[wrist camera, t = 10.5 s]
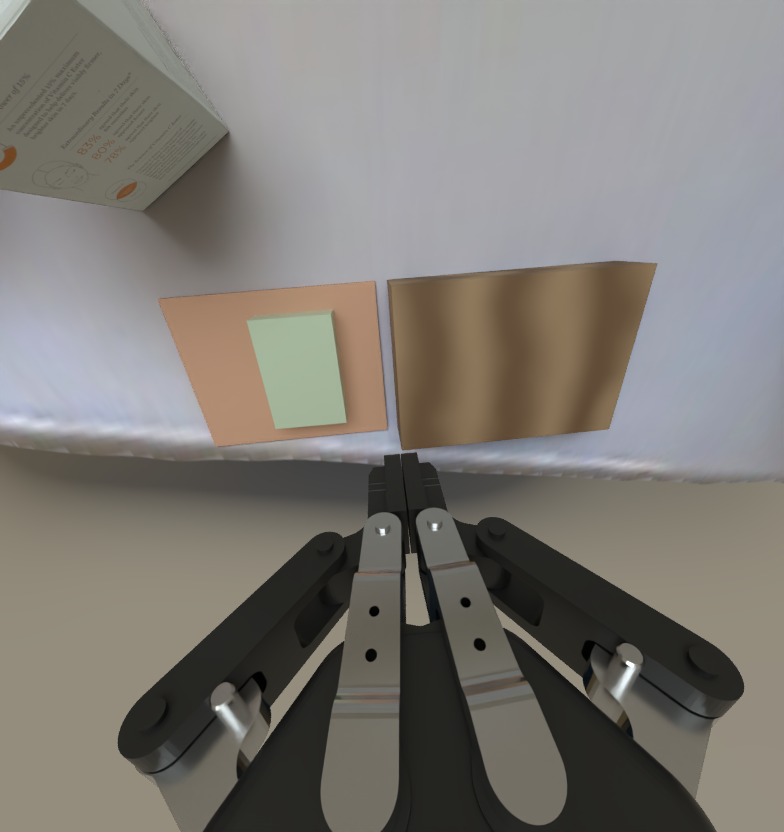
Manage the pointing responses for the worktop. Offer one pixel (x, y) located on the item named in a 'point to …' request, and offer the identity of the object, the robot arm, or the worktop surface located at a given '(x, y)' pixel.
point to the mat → (238, 368)
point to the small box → (96, 103)
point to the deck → (513, 350)
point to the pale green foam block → (300, 367)
